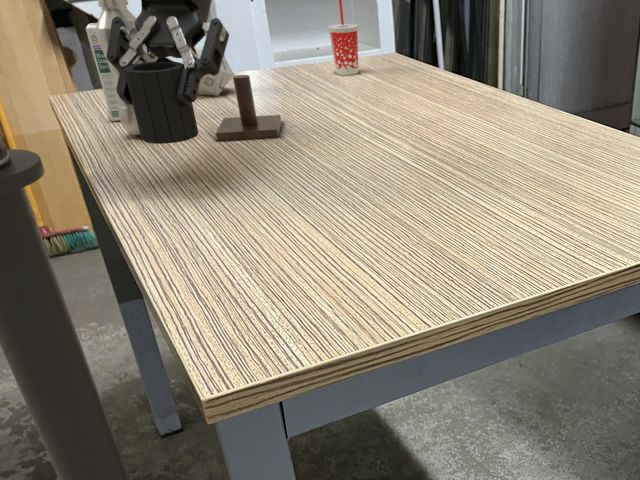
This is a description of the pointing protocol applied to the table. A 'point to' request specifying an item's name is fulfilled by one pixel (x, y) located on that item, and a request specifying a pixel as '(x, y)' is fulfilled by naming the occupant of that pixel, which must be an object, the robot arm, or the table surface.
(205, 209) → the table surface
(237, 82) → the peg stand
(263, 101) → the table surface
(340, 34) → the beverage cup
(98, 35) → the plastic bottle
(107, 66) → the syrup box
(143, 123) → the black hollow cylinder
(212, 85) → the die
